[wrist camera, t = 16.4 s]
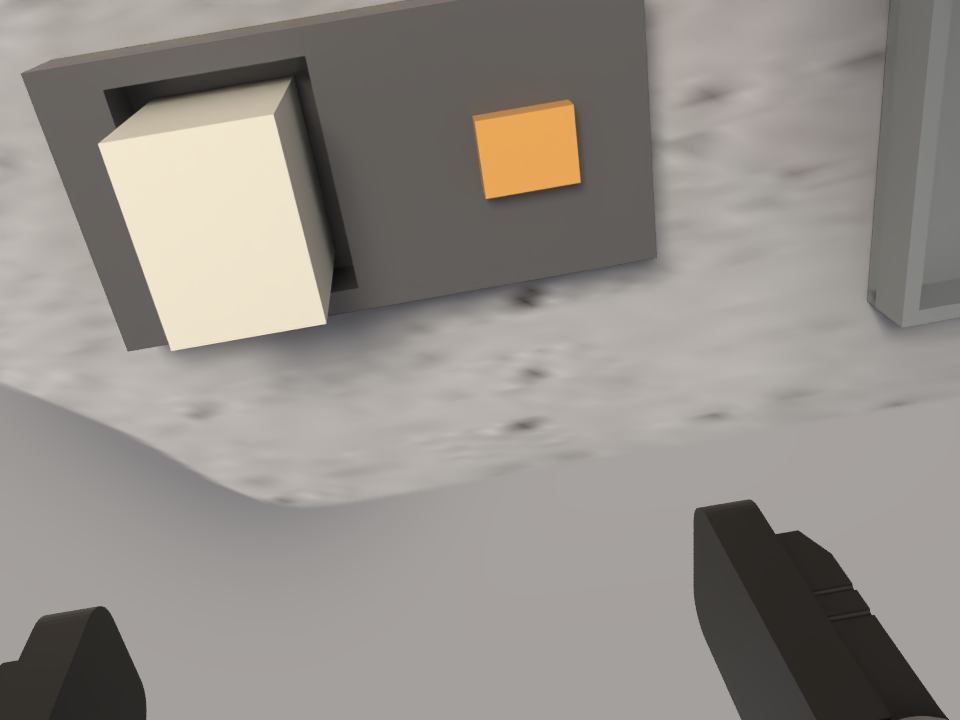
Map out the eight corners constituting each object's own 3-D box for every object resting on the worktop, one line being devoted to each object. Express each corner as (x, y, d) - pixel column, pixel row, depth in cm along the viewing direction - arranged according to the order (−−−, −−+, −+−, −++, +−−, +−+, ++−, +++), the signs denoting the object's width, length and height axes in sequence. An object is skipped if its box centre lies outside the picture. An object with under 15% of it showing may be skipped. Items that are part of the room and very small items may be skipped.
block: (152, 99, 27) (97, 143, 22) (294, 75, 27) (273, 114, 22) (208, 273, 30) (171, 350, 25) (335, 251, 30) (326, 323, 25)
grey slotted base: (51, 60, 27) (10, 78, 24) (619, -36, 27) (649, -30, 24) (146, 319, 31) (121, 362, 28) (636, 232, 31) (663, 266, 28)
